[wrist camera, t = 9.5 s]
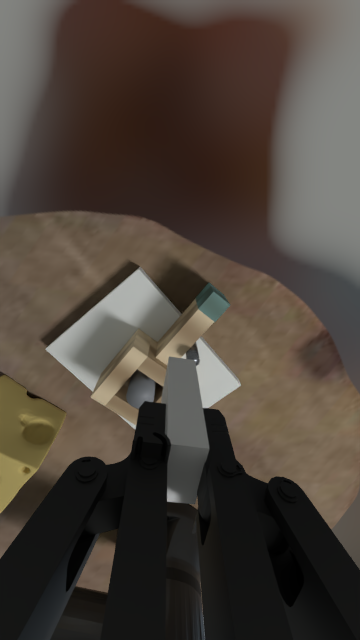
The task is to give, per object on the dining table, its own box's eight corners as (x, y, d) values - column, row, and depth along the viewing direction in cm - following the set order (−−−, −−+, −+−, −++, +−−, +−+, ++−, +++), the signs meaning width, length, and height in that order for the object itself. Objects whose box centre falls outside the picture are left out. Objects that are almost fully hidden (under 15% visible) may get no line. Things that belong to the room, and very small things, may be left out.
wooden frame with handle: (150, 406, 38) (147, 432, 34) (101, 373, 36) (90, 397, 32) (241, 309, 34) (252, 324, 29) (189, 266, 32) (192, 275, 27)
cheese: (3, 371, 38) (-52, 423, 29) (73, 413, 40) (43, 473, 31) (-32, 421, 41) (-94, 483, 31) (35, 457, 43) (-3, 525, 34)
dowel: (198, 340, 35) (202, 361, 30) (189, 346, 36) (192, 369, 30) (190, 332, 35) (194, 352, 30) (182, 338, 35) (183, 360, 30)
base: (238, 379, 39) (253, 415, 32) (153, 437, 42) (149, 482, 35) (140, 266, 33) (131, 280, 26) (50, 343, 37) (20, 374, 30)
